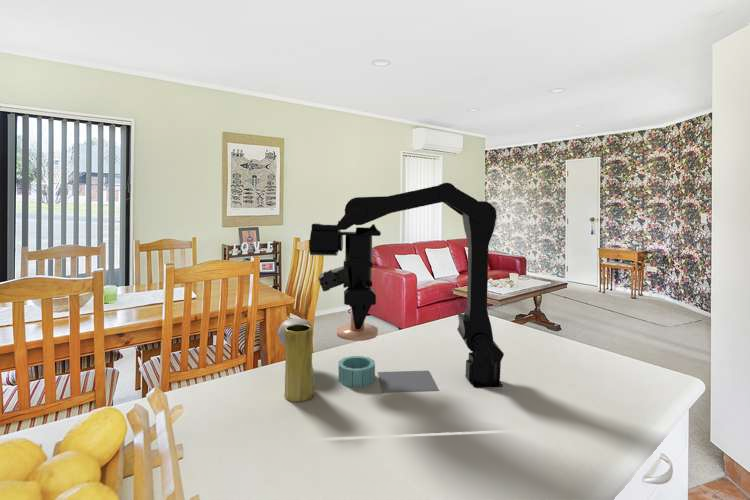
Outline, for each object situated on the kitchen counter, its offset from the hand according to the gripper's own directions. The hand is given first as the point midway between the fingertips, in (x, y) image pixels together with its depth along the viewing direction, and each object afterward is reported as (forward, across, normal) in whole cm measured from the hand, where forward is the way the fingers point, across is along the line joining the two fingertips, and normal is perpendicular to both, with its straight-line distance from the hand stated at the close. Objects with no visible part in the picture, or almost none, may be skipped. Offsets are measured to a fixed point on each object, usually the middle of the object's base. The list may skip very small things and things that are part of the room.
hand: (357, 326), depth 88 cm
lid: (+2, 0, 0) cm, 2 cm away
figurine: (+13, -7, -14) cm, 20 cm away
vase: (+13, +6, -12) cm, 18 cm away
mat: (+12, +2, +11) cm, 17 cm away
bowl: (+12, 0, 0) cm, 12 cm away
